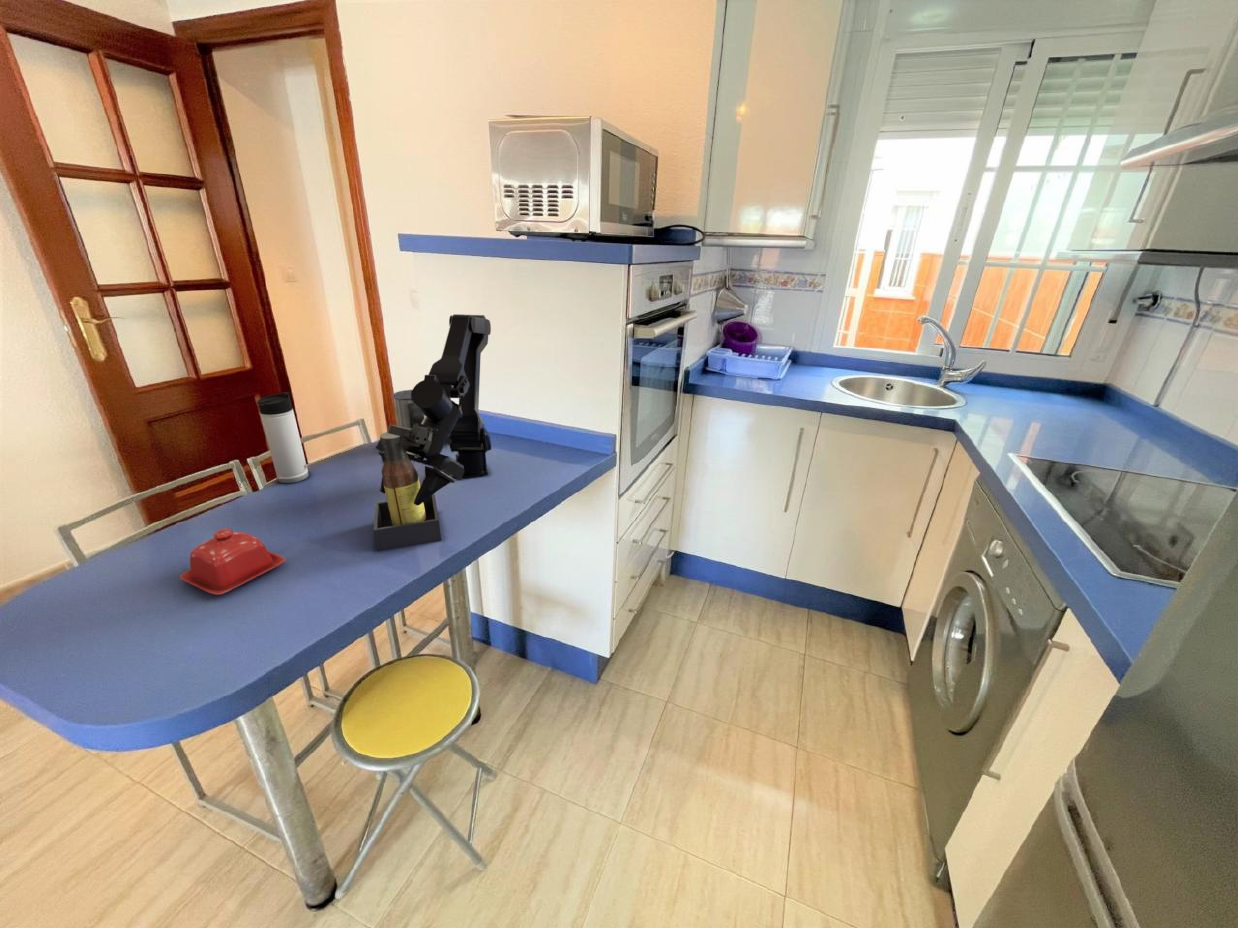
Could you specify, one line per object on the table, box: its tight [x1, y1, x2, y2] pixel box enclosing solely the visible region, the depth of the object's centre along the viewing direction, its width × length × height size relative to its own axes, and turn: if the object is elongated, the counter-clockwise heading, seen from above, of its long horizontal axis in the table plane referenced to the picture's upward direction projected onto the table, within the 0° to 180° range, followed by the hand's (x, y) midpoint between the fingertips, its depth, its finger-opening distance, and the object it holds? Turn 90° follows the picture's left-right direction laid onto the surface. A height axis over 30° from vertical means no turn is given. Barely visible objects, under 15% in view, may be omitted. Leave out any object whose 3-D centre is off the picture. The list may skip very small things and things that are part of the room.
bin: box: [373, 493, 442, 552], centre depth 98 cm, size 11×11×4 cm
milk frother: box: [391, 389, 425, 429], centre depth 137 cm, size 14×16×15 cm
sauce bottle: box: [379, 431, 426, 526], centre depth 95 cm, size 6×6×20 cm
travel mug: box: [257, 392, 310, 484], centre depth 115 cm, size 6×7×20 cm
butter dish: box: [179, 528, 287, 596], centre depth 83 cm, size 12×12×8 cm
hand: (398, 498), depth 95 cm, fingers open, 9 cm apart
